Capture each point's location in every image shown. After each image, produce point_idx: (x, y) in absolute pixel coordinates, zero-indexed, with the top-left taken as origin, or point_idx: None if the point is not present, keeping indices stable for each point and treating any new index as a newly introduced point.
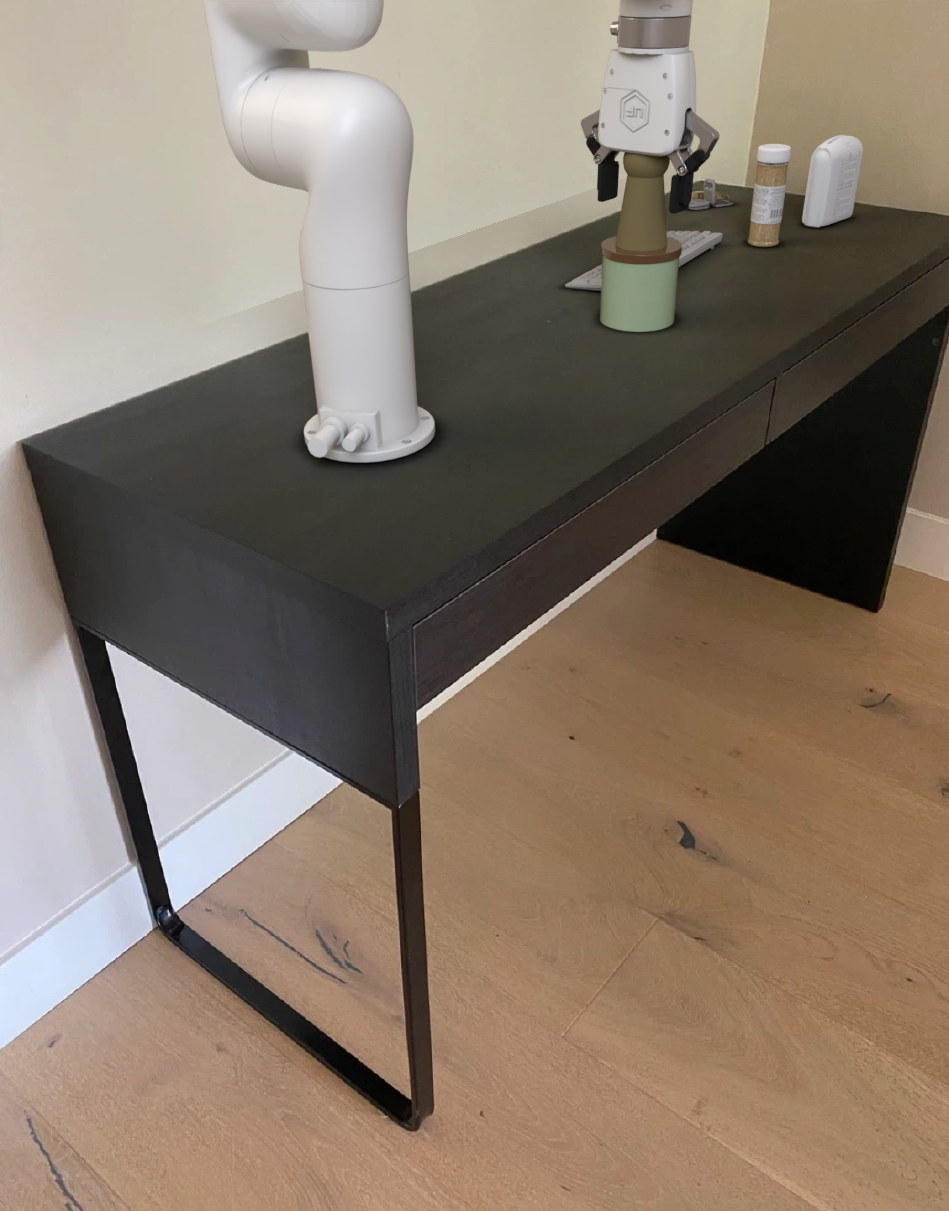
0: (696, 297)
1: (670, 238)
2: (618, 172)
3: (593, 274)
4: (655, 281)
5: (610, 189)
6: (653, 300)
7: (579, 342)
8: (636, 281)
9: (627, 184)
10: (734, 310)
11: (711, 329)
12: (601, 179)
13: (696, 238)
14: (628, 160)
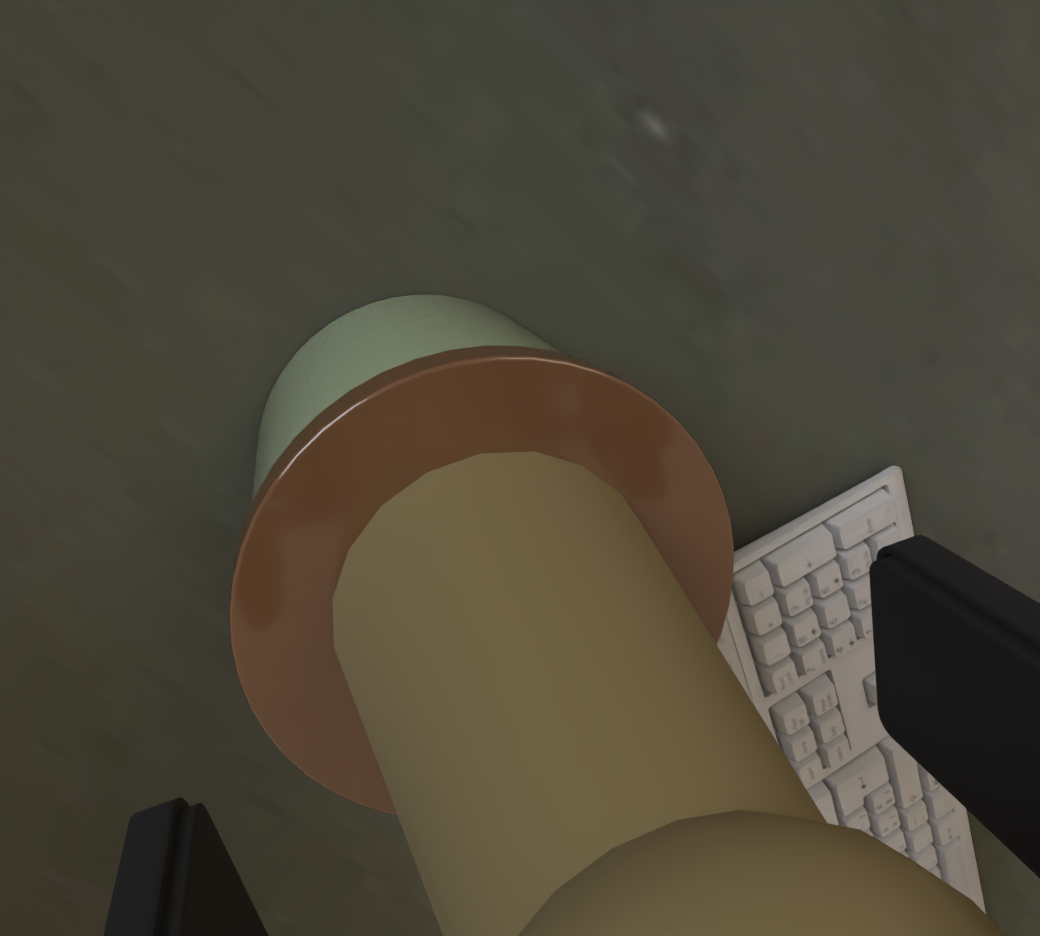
0: None
1: None
2: (1025, 860)
3: (869, 593)
4: (255, 492)
5: (926, 683)
6: (259, 454)
7: (345, 37)
8: (311, 399)
9: (725, 740)
10: (271, 822)
11: (131, 630)
12: (1029, 631)
13: None
14: (847, 925)
